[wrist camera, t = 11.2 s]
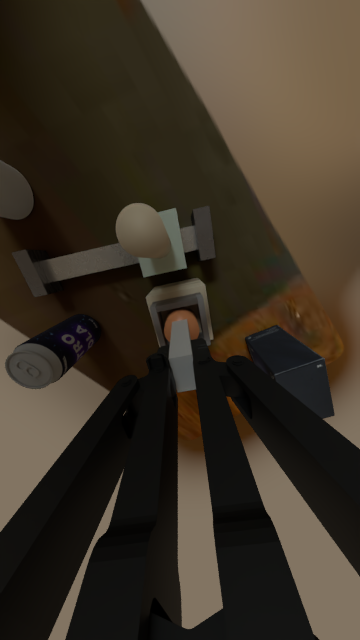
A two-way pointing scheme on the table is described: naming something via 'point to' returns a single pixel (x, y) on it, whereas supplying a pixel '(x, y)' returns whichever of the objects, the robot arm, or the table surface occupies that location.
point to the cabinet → (176, 297)
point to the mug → (14, 193)
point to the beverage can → (52, 352)
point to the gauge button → (181, 315)
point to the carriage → (151, 238)
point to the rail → (105, 257)
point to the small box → (293, 367)
